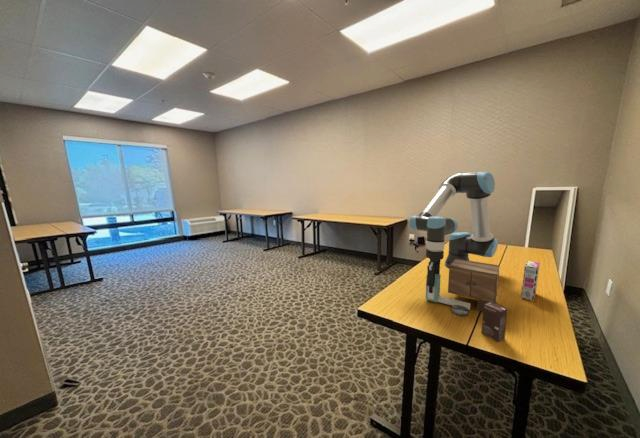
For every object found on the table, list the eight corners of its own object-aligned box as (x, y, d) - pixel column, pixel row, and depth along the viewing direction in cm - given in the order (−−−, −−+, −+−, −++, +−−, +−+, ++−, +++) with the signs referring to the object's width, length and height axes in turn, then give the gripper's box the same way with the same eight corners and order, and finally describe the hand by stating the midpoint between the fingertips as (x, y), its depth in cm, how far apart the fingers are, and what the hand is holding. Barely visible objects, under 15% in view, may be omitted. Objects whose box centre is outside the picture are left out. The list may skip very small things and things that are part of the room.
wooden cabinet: (453, 292, 126) (455, 258, 123) (496, 302, 114) (499, 265, 112) (446, 303, 114) (448, 266, 111) (493, 316, 103) (497, 275, 100)
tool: (428, 295, 120) (429, 272, 118) (470, 306, 109) (472, 280, 107) (425, 299, 116) (426, 275, 115) (469, 310, 105) (470, 284, 103)
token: (452, 308, 110) (453, 303, 110) (468, 312, 107) (468, 307, 106) (451, 314, 105) (451, 309, 105) (467, 318, 102) (467, 313, 101)
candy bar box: (534, 301, 114) (538, 268, 112) (520, 298, 118) (524, 265, 115) (536, 293, 122) (540, 262, 120) (523, 290, 125) (526, 260, 123)
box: (480, 333, 91) (483, 303, 89) (488, 330, 93) (490, 301, 91) (497, 343, 86) (500, 311, 84) (505, 339, 88) (508, 308, 86)
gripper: (431, 244, 122) (429, 288, 126) (420, 252, 109) (418, 301, 112) (448, 246, 118) (445, 291, 121) (438, 255, 104) (435, 306, 107)
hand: (432, 296), depth 117 cm, fingers closed on tool, 5 cm apart
